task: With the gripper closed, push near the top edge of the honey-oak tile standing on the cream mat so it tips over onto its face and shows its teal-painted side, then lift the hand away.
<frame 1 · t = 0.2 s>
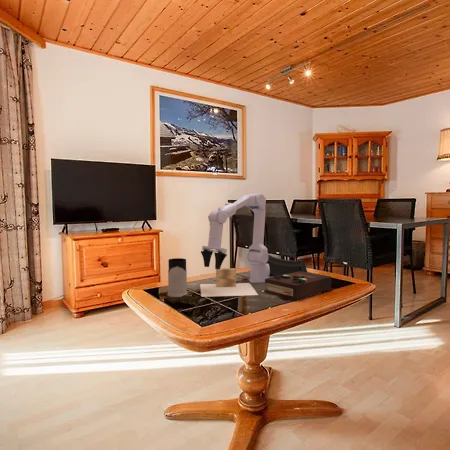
hand: (212, 268, 146), 11 cm above the table, tool pointing down, fingers open, 7 cm apart
glass holder: (177, 293, 145), on the table
mat: (227, 290, 149), on the table
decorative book: (298, 293, 146), on the table
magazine: (282, 276, 179), on the table
tile: (225, 286, 155), resting on mat
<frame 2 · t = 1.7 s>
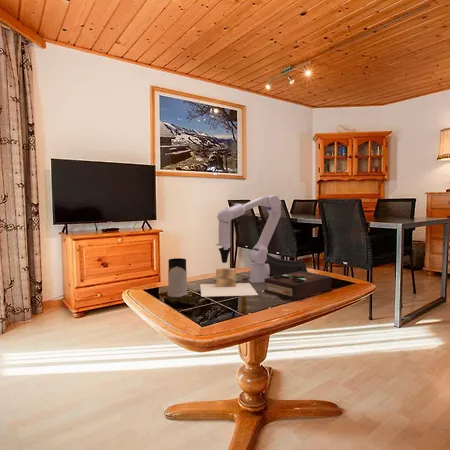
hand: (224, 262, 161), 10 cm above the table, tool pointing down, fingers closed
nothing on the table moved.
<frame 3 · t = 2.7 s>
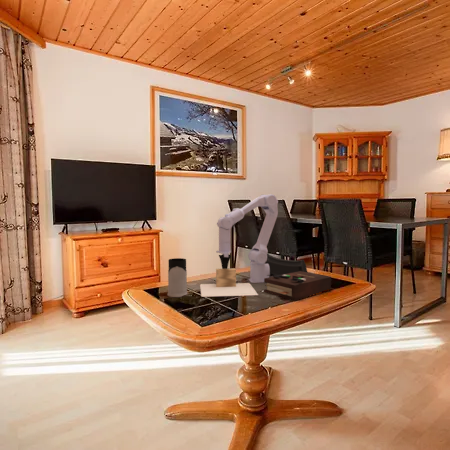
hand: (224, 269, 160), 7 cm above the table, tool pointing down, fingers closed
nothing on the table moved.
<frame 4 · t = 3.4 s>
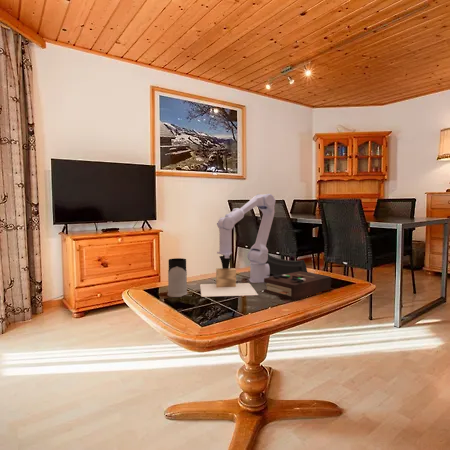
hand: (225, 271, 157), 7 cm above the table, tool pointing down, fingers closed
nothing on the table moved.
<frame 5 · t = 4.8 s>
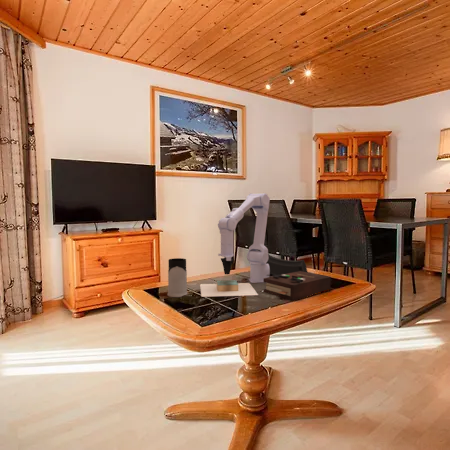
hand: (227, 274, 150), 7 cm above the table, tool pointing down, fingers closed
tile: (226, 283, 153), point 2 cm above the table, tilted 90°, touching mat
everything else where it was.
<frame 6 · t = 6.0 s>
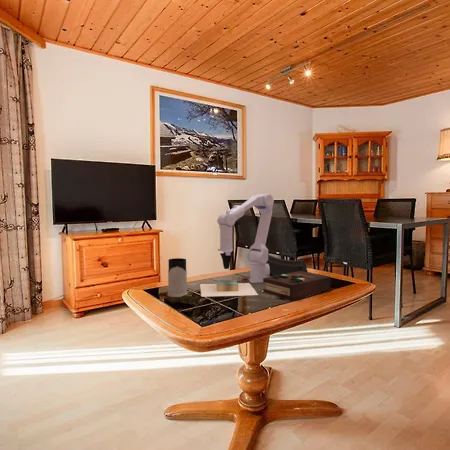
hand: (226, 268, 153), 9 cm above the table, tool pointing down, fingers closed
nothing on the table moved.
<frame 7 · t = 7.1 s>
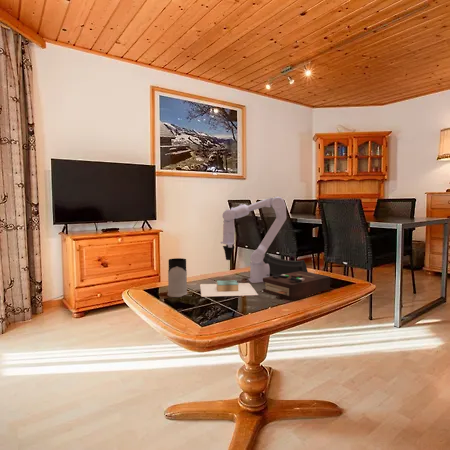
hand: (228, 259, 169), 10 cm above the table, tool pointing down, fingers closed
nothing on the table moved.
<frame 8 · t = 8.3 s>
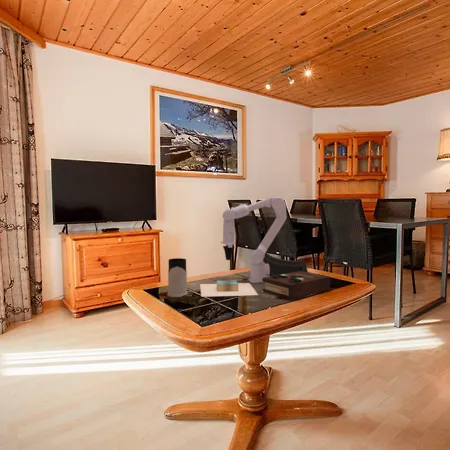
hand: (228, 259, 169), 10 cm above the table, tool pointing down, fingers closed
at the end: tile tilted 90°; tile touching mat; tile inside the target area (0.5 cm from its centre), point 1.9 cm above the table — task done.
